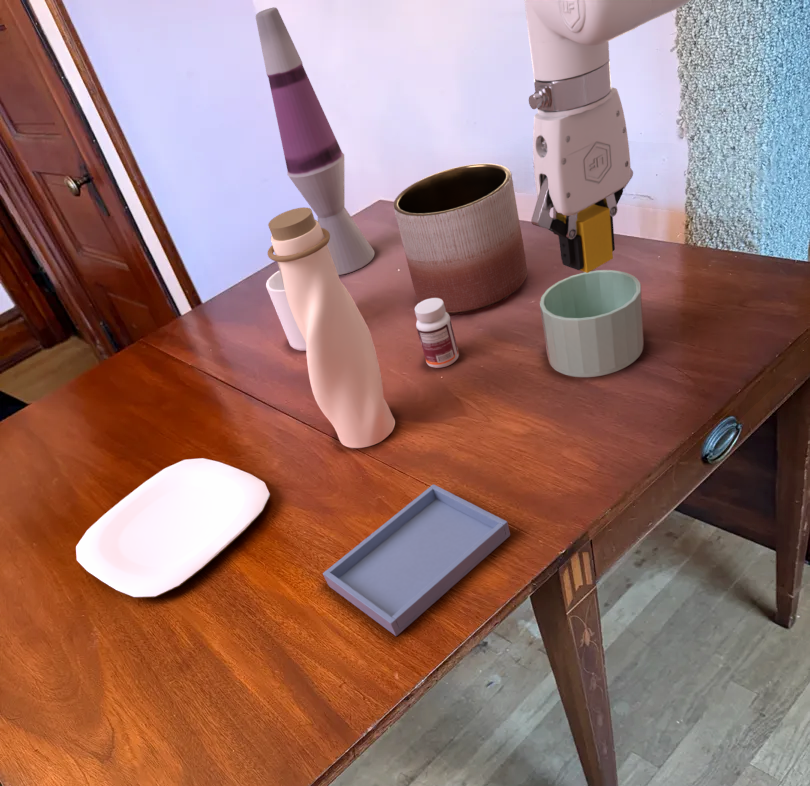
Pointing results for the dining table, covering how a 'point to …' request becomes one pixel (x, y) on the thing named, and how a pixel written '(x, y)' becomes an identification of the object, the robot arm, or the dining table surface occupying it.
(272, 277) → the mug
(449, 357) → the pill bottle
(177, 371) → the dining table surface
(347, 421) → the water bottle
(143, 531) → the plate
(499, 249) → the planter
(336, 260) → the lamp
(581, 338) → the mint faceted tub
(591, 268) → the yellow block
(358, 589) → the tray
